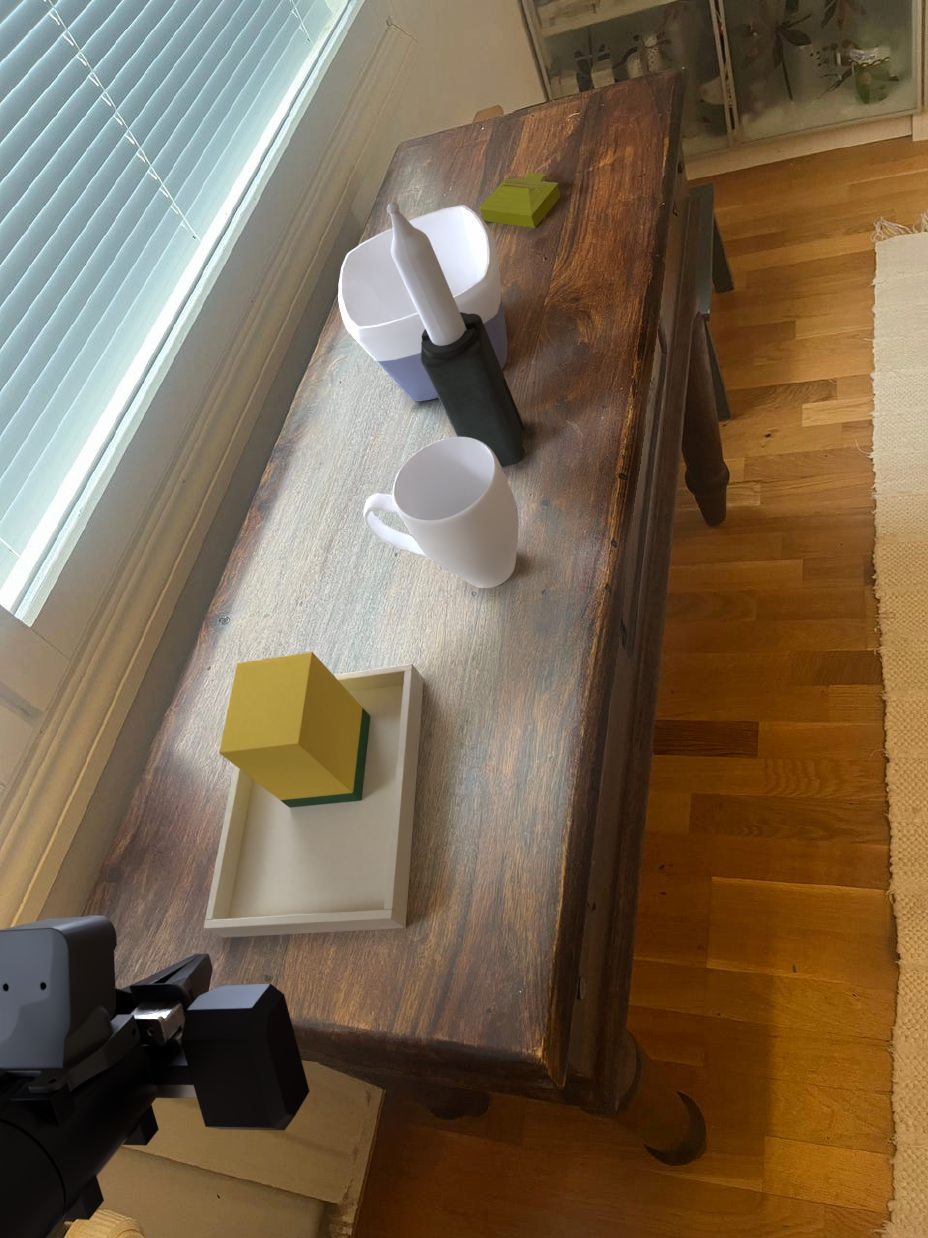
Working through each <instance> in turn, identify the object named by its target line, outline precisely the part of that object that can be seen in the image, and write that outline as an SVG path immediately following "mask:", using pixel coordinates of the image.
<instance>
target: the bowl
mask: <svg viewBox="0 0 928 1238" xmlns="http://www.w3.org/2000/svg"><path fill="white" fill-rule="evenodd" d="M408 221H409V222H410V223H411V225H412V226H413V227H415V228H417V229H418V230H420V231H422V232H424V233H425V234H426V235H427V237H428V238H429V240H430V243H431V245H432V247H433V250H434V252H435V255H436V257H437V259H438V262H439V264H440V267H441V269H442V271H443V274H444V276H445V278H446V281H447V283H448V286H449V288H450V290H451V293H452V295H453V298H454V300H455V302H456V305H457V307H458V310H459V312H463V313H467V314H477V315H479V316H480V317H481V319H482V321H483V324H484V326H485V329H486V331H487V334H488V336H489V339H490V341H491V344H492V346H493V349H494V351H495V354H496V356H497V359H498V361H499V364H500V366H501V369H502V370H503V368H505V366H506V364H507V360H508V336H507V328H506V320H505V319H506V318H505V311H504V302H503V301H504V300H503V294H502V282H501V273H500V263H499V256H498V251H497V244H496V240H495V238H494V236H493V234H492V231H491V229H490V228H489V226H488V225H487V223H486V221H485V220H484V218H483V217H481V216H480V215H479V214H478V213H477V212H475V211H473V209H471V208H469V207H468V206H467V205H464V204H461V205H460V204H459V205H455V206H450V207H449V206H448V207H444V208H441V209H437V210H434V211H431V212H428V213H424V214H422V215H419V216H417V217H414V218H412V219H408ZM393 237H394V236H393V228H392V227H390V228H388V229H386V230H383V231H382V232H380V233H378V234H376V235H374V236H371V238H368V239H367V240H364V241H363V242H361V243H360V244H359V245H357V246H355V247H354V248H353V249H350V251H349V252H347V253H346V255H345V258H344V260H343V262H342V264H341V268H340V273H339V281H338V305H339V310H340V314H341V318H342V321H343V324H344V326H345V328H346V330H347V331H348V333H349V334H350V335H351V337H353V338H354V339H355V340H356V342H357V343H358V344H359V345H360V346H361V347H362V348H363V349H364V350H365V352H366V353H367V354H368V355H369V356H370V357H371V358H372V359H373V360H374V361H375V362H376V363H377V364H378V365H379V367H381V369H383V370H384V371H385V373H386V374H387V375H388V376H389V377H390V378H391V379H392V380H393V381H394V382H395V383H396V384H397V385H398V387H399V388H400V389H401V390H402V391H403V392H404V393H405V394H406V395H407V397H408V398H410V399H411V400H412V401H414V402H425V401H430V400H434V399H437V398H438V396H437V394H436V392H435V390H434V388H433V386H432V384H431V382H430V380H429V377H428V375H427V373H426V371H425V369H424V367H423V365H422V363H421V342H422V334H423V332H424V330H425V329H426V328H425V326H424V324H423V322H422V320H421V318H420V315H419V313H418V311H417V309H416V307H415V305H414V302H413V300H412V298H411V296H410V294H409V292H408V289H407V287H406V285H405V283H404V281H403V279H402V277H401V274H400V272H399V270H398V268H397V266H396V264H395V261H394V259H393V257H392V254H391V246H392V241H393ZM438 399H439V398H438Z"/></svg>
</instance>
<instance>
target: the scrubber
mask: <svg viewBox="0 0 928 1238" xmlns="http://www.w3.org/2000/svg"><path fill="white" fill-rule="evenodd" d="M235 667H236V668H235V672H234V677H233V681H232V687H231V691H230V697H229V702H228V707H227V712H226V717H225V722H224V727H223V733H222V737H221V741H220V746H219V754H220V755H221V756H222V757H223V758H225V759H227V760H228V761H229V762H230V763H231V764H233V766H234V765H235V766H237V767H238V768H239V769H240V770H242V771H243V772H244V773H246V774H247V775H248V776H249V777H251V778H252V779H253V780H255V781H256V782H257V783H258V784H260V785H261V786H262V787H264V788H265V789H266V790H267V791H269V792H270V793H271V794H273V795H274V796H275V797H276V798H278V799H279V800H281V801H282V802H283V803H284V804H285V805H287V806H288V807H289V808H291V807H301V806H312V805H322V804H332V803H342V802H353V801H361V800H362V792H363V782H364V773H365V763H366V754H367V744H368V735H369V725H370V715H369V714H368V713H367V712H366V711H365V709H364V708H362V706H361V705H360V704H359V703H358V702H357V701H356V699H355V698H354V697H353V696H352V695H351V694H350V693H349V692H348V691H347V690H346V688H345V687H344V686H343V685H342V684H341V683H340V682H339V681H338V680H337V678H336V677H335V676H334V675H335V674H333V673H332V672H331V671H330V669H329V668H328V667H327V666H326V665H325V664H324V663H323V661H321V659H320V658H319V657H317V655H316V654H315V653H314V652H313V651H308V652H304V653H302V652H301V653H296V654H295V653H294V654H289V655H282V656H275V657H270V658H263V659H255V660H249V661H242V662H237V663H236V666H235Z"/></svg>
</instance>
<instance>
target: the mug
mask: <svg viewBox="0 0 928 1238" xmlns="http://www.w3.org/2000/svg"><path fill="white" fill-rule="evenodd" d="M392 486H393V487H392V494H389V493H388V494H387V493H375V494H372V495H370V496H369V497H368V499H367V500H366V501H365V505H364V507H363V521H364V523H365V526H366V527H367V529H368V530H369V532H371V533H372V535H373V536H375V537H376V538H377V539H378V540H380V541H382V542H384V543H385V544H388V545H389V546H392V547H394V548H397V549H400V550H402V551H405V552H408V553H411V554H414V555H417V556H420V557H424V558H426V559H430V560H431V561H432V562H433V563H435V565H437V566H439V567H440V568H442V569H443V570H445V571H446V572H449V573H450V574H451V575H454V576H456V577H458V578H459V579H461V580H462V581H464V582H466V583H468V584H470V585H472V586H474V587H476V588H479V589H492V588H495V587H498V586H500V585H502V584H503V583H505V582H506V581H507V580H509V578H510V577H511V576H512V575H513V573H514V571H515V568H516V564H517V552H518V551H517V550H518V541H519V532H520V531H519V530H520V529H519V528H520V522H519V520H520V518H519V510H518V505H517V502H516V498H515V496H514V493H513V489H512V488H511V485H510V483H509V481H508V479H507V476H506V474H505V472H504V470H503V468H502V467H501V465H500V463H499V461H498V459H497V457H496V455H495V454H494V452H493V451H492V450H491V449H490V448H489V447H488V446H487V445H486V444H484V443H483V442H481V441H479V440H476V439H473V438H468V437H457V436H451V437H447V438H445V437H444V438H441V439H439V440H436V441H433V442H430V443H429V444H427V445H425V446H423V447H422V448H420V449H419V450H417V451H415V453H413V454H412V455H411V456H410V457H409V458H408V459H407V460H406V461H405V462H404V463H403V465H402V466H401V467H400V469H399V471H398V472H397V474H396V476H395V479H394V482H393V485H392ZM374 511H384V512H387V513H391V514H393V515H396V516H399V517H400V519H401V521H402V522H403V523H404V524H403V525H405V527H406V529H407V530H408V532H409V533H410V535H409V534H407V533H405V532H401V531H399V530H396V529H394V528H393V527H391V526H389V525H387V524H385V523H384V522H382V521H381V520H380V519H379V518H378V517H377V516H376V514H375V512H374Z"/></svg>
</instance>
